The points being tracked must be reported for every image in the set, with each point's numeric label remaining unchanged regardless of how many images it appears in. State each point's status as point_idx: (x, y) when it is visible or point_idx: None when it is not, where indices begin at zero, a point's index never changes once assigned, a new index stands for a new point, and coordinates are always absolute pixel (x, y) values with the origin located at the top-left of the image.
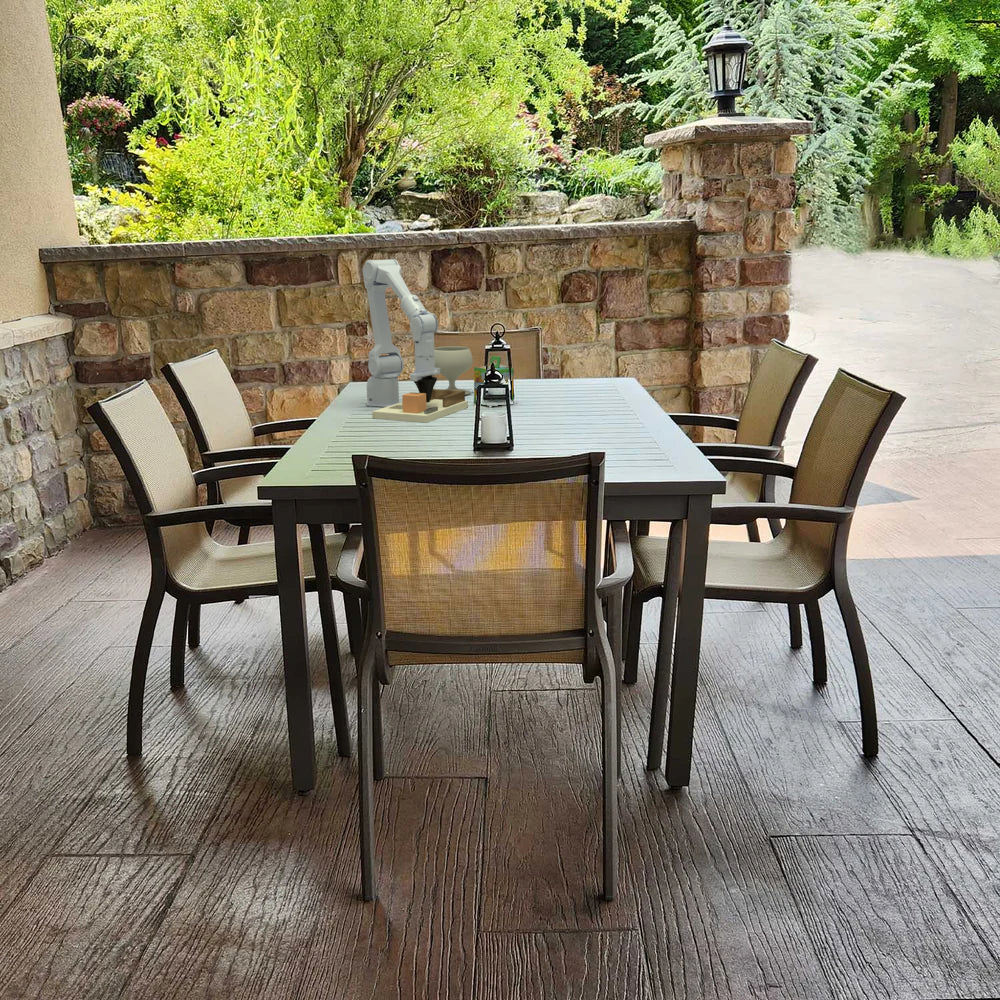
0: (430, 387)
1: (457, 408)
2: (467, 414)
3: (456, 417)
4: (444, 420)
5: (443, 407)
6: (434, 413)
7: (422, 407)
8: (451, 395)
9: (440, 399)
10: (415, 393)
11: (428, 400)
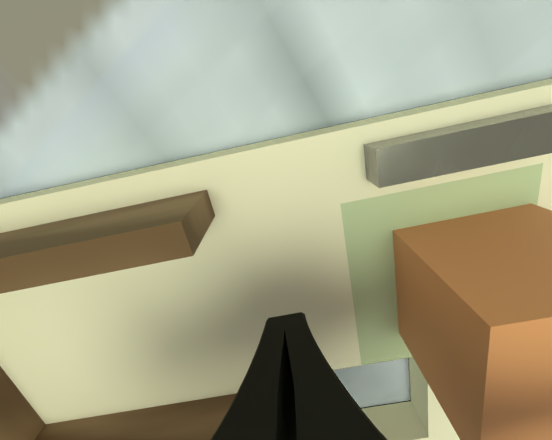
0: (308, 436)
1: (67, 186)
2: (104, 22)
3: (262, 13)
4: (419, 13)
5: (216, 206)
6: (459, 103)
7: (481, 231)
8: (38, 250)
9: (24, 397)
10: (532, 410)
11: (302, 320)
